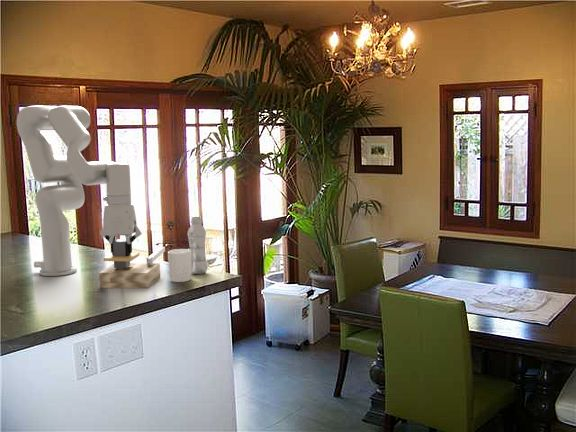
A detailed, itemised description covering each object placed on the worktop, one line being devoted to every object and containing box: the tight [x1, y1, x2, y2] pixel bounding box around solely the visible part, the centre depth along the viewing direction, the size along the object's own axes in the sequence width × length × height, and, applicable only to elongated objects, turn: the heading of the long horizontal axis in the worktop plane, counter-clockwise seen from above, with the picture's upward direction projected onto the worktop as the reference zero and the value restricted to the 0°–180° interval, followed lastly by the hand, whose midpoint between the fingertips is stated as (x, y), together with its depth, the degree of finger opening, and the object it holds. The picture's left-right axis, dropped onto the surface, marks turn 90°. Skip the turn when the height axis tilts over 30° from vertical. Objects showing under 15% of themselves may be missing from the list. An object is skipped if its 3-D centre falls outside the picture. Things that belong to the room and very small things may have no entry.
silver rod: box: [146, 246, 166, 266], centre depth 218 cm, size 21×2×3 cm, turn 179°
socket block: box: [98, 262, 161, 289], centre depth 207 cm, size 16×14×5 cm
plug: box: [102, 238, 140, 269], centre depth 205 cm, size 9×9×9 cm
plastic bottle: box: [187, 216, 209, 275], centre depth 217 cm, size 6×7×20 cm
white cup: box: [167, 248, 192, 283], centre depth 209 cm, size 8×8×10 cm
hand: (121, 254), depth 206 cm, fingers closed on plug, 4 cm apart
